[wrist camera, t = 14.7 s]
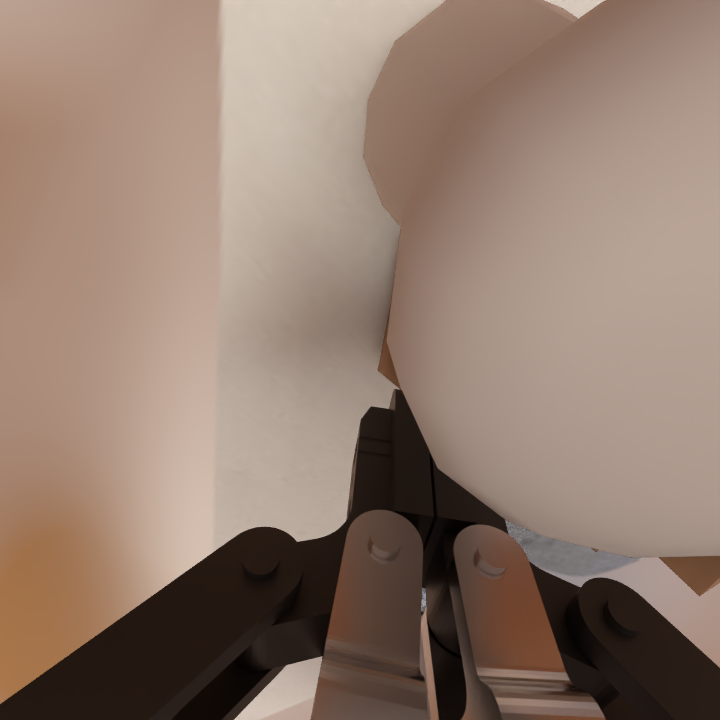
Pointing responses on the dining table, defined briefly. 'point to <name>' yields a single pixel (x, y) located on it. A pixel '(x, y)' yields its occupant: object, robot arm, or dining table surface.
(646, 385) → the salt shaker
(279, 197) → the dining table surface
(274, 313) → the dining table surface
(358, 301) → the dining table surface
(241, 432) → the dining table surface
